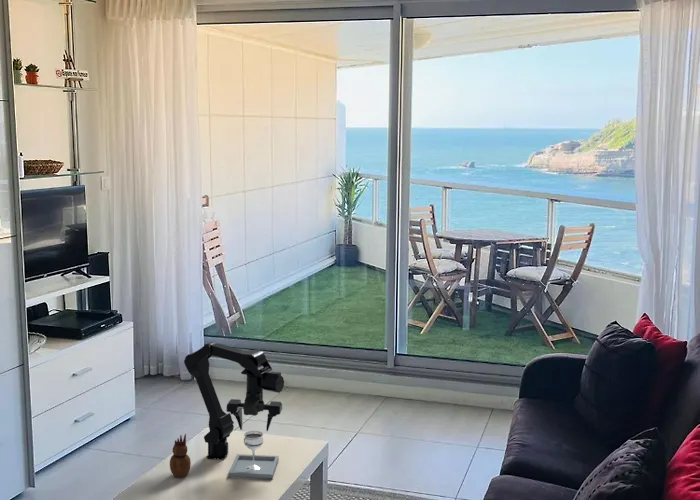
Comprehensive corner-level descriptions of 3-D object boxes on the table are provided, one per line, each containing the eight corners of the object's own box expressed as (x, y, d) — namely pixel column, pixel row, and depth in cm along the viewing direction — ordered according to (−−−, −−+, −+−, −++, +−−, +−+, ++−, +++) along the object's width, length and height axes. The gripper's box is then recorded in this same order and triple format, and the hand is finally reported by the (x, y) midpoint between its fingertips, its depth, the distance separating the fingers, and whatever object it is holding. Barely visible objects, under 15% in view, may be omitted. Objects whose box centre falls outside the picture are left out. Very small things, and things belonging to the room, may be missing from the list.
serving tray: (228, 477, 259) (228, 472, 259) (237, 458, 274) (237, 454, 274) (272, 479, 258) (272, 474, 258) (278, 460, 273) (278, 455, 273)
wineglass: (249, 461, 270) (249, 429, 269) (266, 465, 268) (266, 432, 266) (240, 469, 264) (240, 436, 262) (257, 472, 262) (257, 439, 260)
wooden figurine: (193, 473, 261) (193, 432, 259) (184, 481, 256) (184, 438, 254) (176, 470, 264) (175, 429, 261) (167, 477, 258) (166, 435, 256)
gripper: (222, 393, 258) (222, 437, 260) (277, 396, 257) (276, 440, 259) (230, 383, 269) (230, 425, 271) (282, 385, 267) (282, 428, 270)
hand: (254, 430), depth 268 cm, fingers open, 9 cm apart
